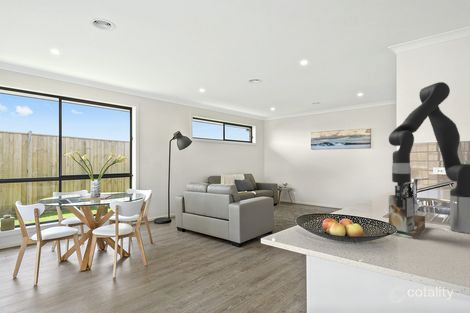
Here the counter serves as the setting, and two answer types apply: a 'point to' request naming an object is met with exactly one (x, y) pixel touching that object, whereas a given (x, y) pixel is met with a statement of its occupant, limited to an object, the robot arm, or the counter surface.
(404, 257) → the counter surface
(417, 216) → the rack bay
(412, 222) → the coffee box
